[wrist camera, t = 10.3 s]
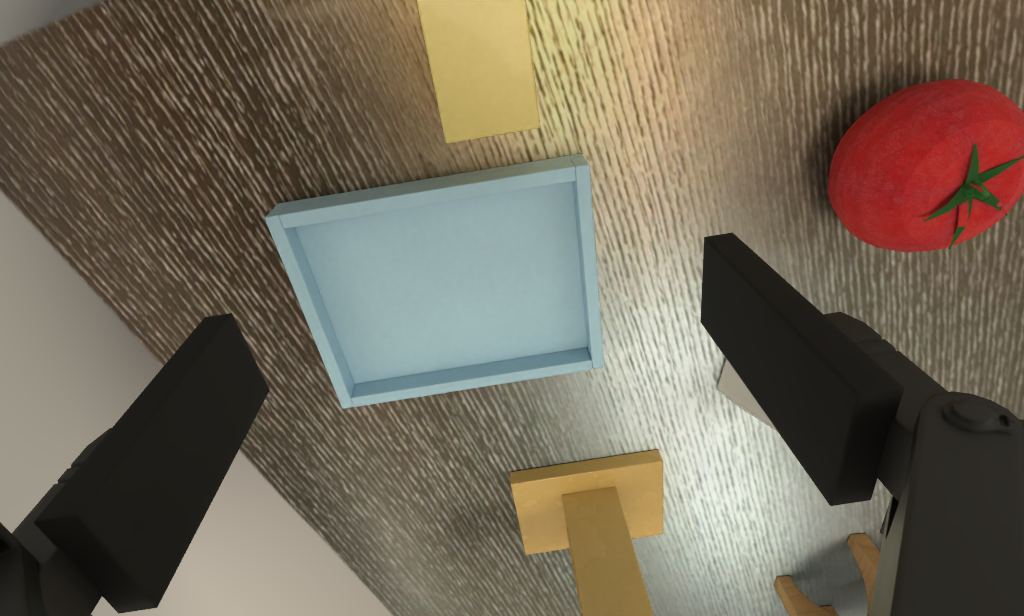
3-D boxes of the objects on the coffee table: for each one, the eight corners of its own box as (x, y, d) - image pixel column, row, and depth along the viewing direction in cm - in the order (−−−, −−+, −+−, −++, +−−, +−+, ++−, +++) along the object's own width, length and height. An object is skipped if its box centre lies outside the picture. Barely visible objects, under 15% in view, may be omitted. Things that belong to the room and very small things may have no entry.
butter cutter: (524, 542, 47) (543, 744, 34) (509, 471, 42) (525, 675, 30) (658, 521, 47) (728, 718, 34) (658, 448, 42) (738, 644, 29)
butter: (531, 110, 29) (540, 128, 25) (449, 124, 29) (445, 144, 25) (512, -43, 25) (520, -51, 21) (419, -27, 25) (409, -32, 21)
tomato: (873, 245, 34) (974, 308, 27) (770, 186, 32) (853, 238, 25) (987, 117, 30) (1139, 152, 23) (881, 39, 28) (1015, 52, 21)
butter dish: (349, 387, 37) (342, 409, 35) (277, 203, 30) (263, 217, 28) (597, 348, 37) (604, 368, 35) (582, 153, 30) (589, 163, 28)
